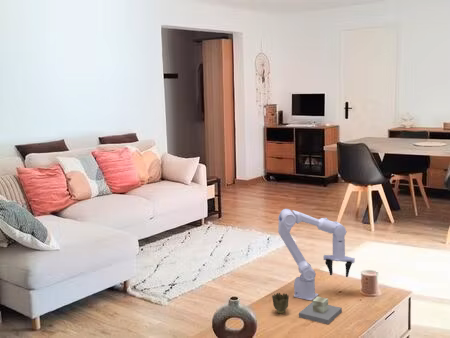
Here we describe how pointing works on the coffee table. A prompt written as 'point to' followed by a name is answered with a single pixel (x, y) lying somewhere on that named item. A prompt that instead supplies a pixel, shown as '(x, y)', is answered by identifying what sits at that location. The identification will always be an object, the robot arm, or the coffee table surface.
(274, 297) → the cup
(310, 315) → the charcoal base
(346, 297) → the coffee table surface
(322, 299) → the sage block
